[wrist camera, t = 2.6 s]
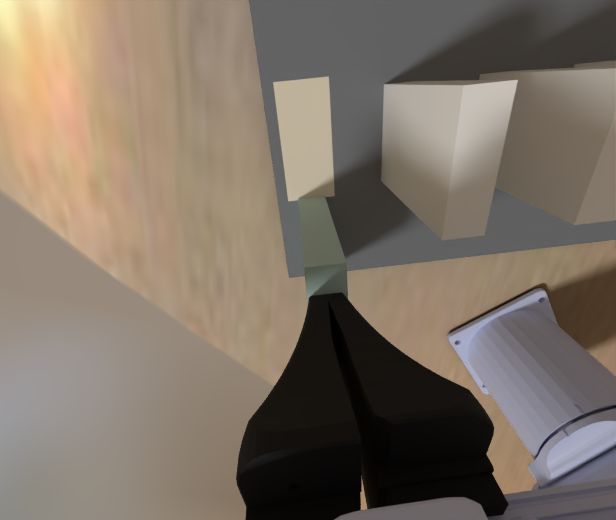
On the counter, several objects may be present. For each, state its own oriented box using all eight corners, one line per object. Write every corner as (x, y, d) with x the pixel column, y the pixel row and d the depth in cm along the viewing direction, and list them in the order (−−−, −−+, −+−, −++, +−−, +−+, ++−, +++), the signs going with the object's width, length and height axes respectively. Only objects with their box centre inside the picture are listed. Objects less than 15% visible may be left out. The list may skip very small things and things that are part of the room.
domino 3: (510, 71, 16) (685, 61, 9) (490, 168, 18) (615, 220, 12) (479, 74, 16) (631, 67, 9) (464, 171, 18) (574, 225, 12)
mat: (787, -115, 14) (801, -121, 13) (624, 235, 22) (630, 237, 22) (240, -64, 13) (239, -68, 13) (289, 274, 22) (289, 277, 21)
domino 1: (324, 195, 19) (346, 262, 12) (329, 266, 21) (349, 357, 14) (297, 198, 19) (303, 267, 12) (305, 269, 21) (314, 361, 14)
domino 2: (414, 81, 16) (518, 79, 9) (407, 178, 18) (484, 235, 11) (383, 84, 16) (463, 85, 9) (381, 181, 18) (441, 240, 11)
